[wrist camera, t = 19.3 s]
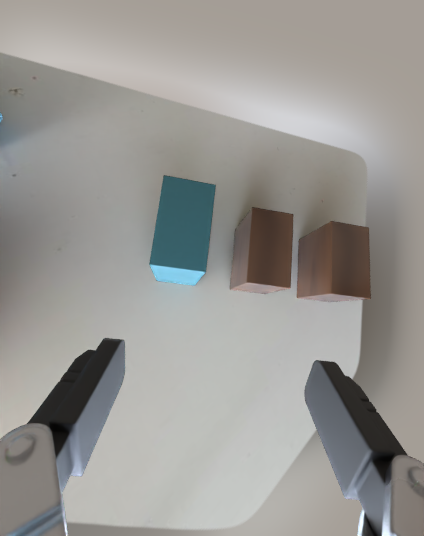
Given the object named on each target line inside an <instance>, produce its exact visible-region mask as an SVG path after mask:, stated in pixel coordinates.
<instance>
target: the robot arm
mask: <svg viewBox="0 0 424 536" xmlns="http://www.w3.org/2000/svg"><path fill="white" fill-rule="evenodd" d="M124 373H125V342H124V340H120V339H110V338H104V339H103V340H102V342H101V343H100V345H99V346H98V348H97V349H96V351H95V350H87V351H86V352H84V353H83V354H82V355H80V356H79V357H77V358H76V359H75V360H74V362H73V363H72V365H71V366H70V367H69V369H68V371H67V372H66V373H65V374H64V375H63V377H62V378H61V380H60V382H58V383H57V385H56V386H55V387H54V389H53V390H52V391H51V393H50V394H49V395H48V397H47V398H46V399H45V401H44V402H43V403H42V405H41V406H40V408H39V409H38V410H37V412H36V413H35V414H34V416H33V417H32V418H31V420H30V421H29V422H28V423H27V424H26V425H23V426H20V427H18V428H16V429H14V430H12V431H11V432H9V433H8V434H6V435H5V436H3V437H2V438H1V439H0V536H68V530H67V522H66V515H65V508H64V502H63V495H62V492H63V490H64V488H65V486H66V483H67V481H68V479H69V477H70V475H71V476H82V474H83V472H84V470H85V468H86V465H87V463H88V461H89V458H90V456H91V454H92V451H93V449H94V447H95V445H96V442H97V440H98V438H99V435H100V433H101V431H102V428H103V426H104V424H105V422H106V419H107V417H108V415H109V412H110V410H111V408H112V406H113V403H114V401H115V399H116V396H117V394H118V392H119V389H120V387H121V385H122V382H123V378H124ZM305 401H306V404H307V406H308V409H309V411H310V414H311V416H312V419H313V421H314V424H315V426H316V428H317V431H318V433H319V436H320V438H321V440H322V443H323V446H324V448H325V451H326V453H327V455H328V458H329V460H330V463H331V465H332V468H333V470H334V473H335V475H336V477H337V480H338V482H339V485H340V487H341V490H342V492H343V495H344V497H345V499H357V500H359V501H360V503H361V505H362V507H363V510H362V512H361V514H360V519H359V527H358V535H357V536H424V463H422V462H420V461H419V460H417V459H415V458H412V457H410V456H408V455H407V454H406V452H405V451H404V449H403V448H402V446H401V445H400V443H399V442H398V441H397V439H396V438H395V436H394V435H393V434H392V432H391V431H390V429H389V428H388V426H387V425H386V423H385V422H384V420H383V419H382V418H381V416H380V415H379V413H377V412H376V409H375V407H374V406H373V405H372V403H371V402H369V399H368V397H367V396H366V395H365V393H364V392H363V390H362V389H361V387H360V386H358V385H357V384H356V383H355V382H354V381H353V380H352V379H351V378H350V377H348V376H345V375H344V374H343V372H342V371H341V369H340V368H339V366H338V365H337V364H336V363H335V362H329V361H319V360H316V361H315V362H314V363H313V366H312V369H311V372H310V375H309V377H308V380H307V383H306V386H305Z"/></svg>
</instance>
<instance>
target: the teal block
mask: <svg viewBox="0 0 424 536" xmlns="http://www.w3.org/2000/svg"><path fill="white" fill-rule="evenodd" d="M215 187H216V185H214V184H208V183H203V182H197V181H192V180H187V179H181V178H176V177H171V176H165V175H164V177H163V183H162V189H161V196H160V202H159V208H158V214H157V220H156V227H155V233H154V239H153V245H152V251H151V257H150V264H149V265H150V267H151V269H152V271H153V273H154V276H155V278H156V280H157V281H162V282H170V283H178V284H186V285H195V284H196V283H197V282H198V281H199V280H200V278H201V277H202V276H203V275H204V274H205V272H206V266H207V257H208V249H209V240H210V231H211V222H212V213H213V204H214V196H215Z"/></svg>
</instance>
